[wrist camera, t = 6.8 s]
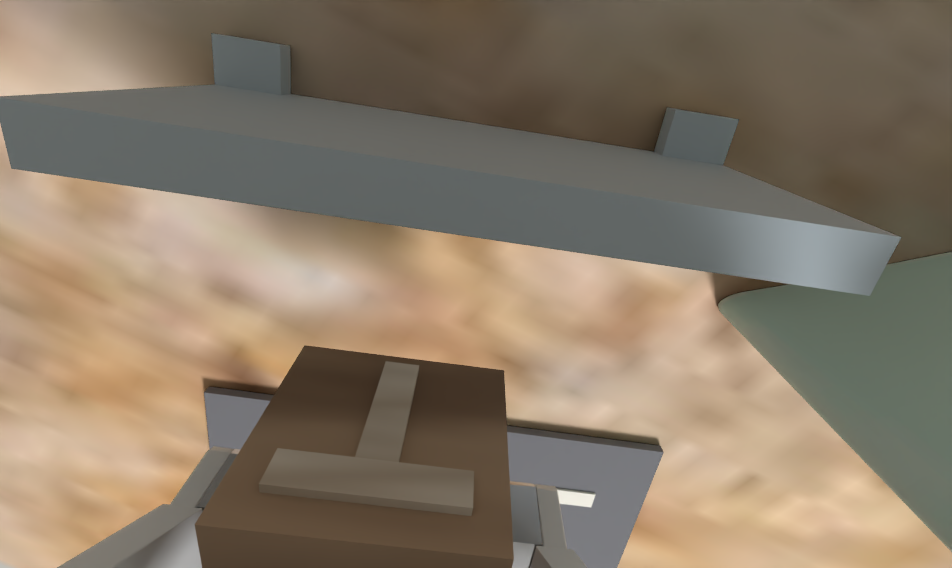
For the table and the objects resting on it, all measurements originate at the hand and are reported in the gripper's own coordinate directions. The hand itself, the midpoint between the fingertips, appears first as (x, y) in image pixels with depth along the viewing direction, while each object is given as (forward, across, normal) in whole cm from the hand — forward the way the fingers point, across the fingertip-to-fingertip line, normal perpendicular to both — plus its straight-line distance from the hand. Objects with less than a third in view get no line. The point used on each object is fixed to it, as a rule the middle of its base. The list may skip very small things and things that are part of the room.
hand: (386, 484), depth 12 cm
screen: (+8, -1, -7) cm, 11 cm away
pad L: (+8, -6, +9) cm, 13 cm away
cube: (+2, 0, 0) cm, 2 cm away
